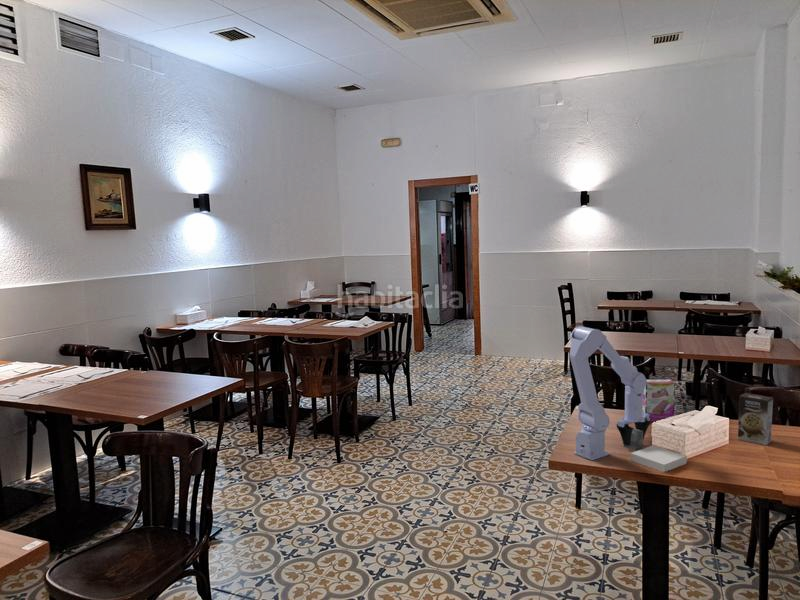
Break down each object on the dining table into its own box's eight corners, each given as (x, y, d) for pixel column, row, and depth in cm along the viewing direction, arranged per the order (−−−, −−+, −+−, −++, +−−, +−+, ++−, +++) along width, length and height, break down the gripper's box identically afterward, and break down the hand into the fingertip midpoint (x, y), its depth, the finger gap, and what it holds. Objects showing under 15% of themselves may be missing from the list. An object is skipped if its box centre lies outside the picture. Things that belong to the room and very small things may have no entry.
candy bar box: (645, 422, 223) (645, 382, 221) (641, 418, 228) (641, 379, 226) (674, 422, 222) (675, 382, 220) (670, 418, 227) (670, 378, 225)
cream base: (664, 472, 176) (664, 464, 176) (630, 460, 186) (630, 453, 186) (686, 463, 182) (686, 455, 182) (653, 452, 193) (653, 445, 192)
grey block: (634, 450, 195) (635, 433, 194) (623, 446, 199) (623, 430, 198) (642, 447, 197) (643, 431, 197) (631, 443, 201) (631, 427, 201)
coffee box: (737, 439, 202) (738, 395, 200) (743, 435, 206) (744, 392, 204) (766, 445, 195) (767, 400, 193) (772, 441, 199) (773, 396, 198)
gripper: (630, 411, 189) (630, 450, 191) (656, 403, 197) (656, 441, 198) (612, 406, 195) (612, 444, 197) (639, 399, 203) (638, 435, 204)
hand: (633, 442), depth 198 cm, fingers open, 7 cm apart
